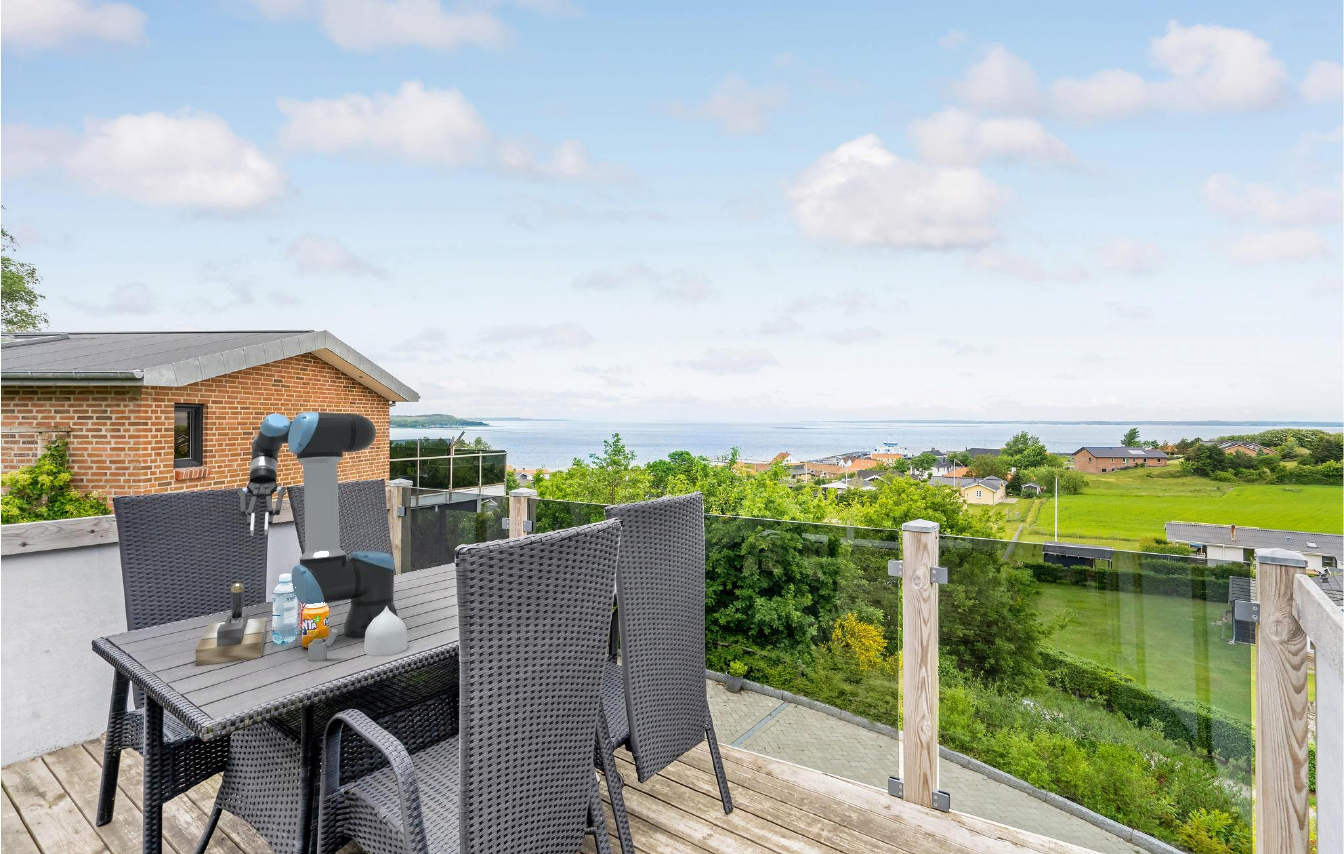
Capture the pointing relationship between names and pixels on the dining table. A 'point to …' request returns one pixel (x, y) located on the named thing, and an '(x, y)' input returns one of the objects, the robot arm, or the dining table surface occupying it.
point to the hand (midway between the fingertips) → (259, 532)
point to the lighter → (321, 647)
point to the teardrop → (385, 635)
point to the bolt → (237, 602)
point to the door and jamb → (232, 641)
